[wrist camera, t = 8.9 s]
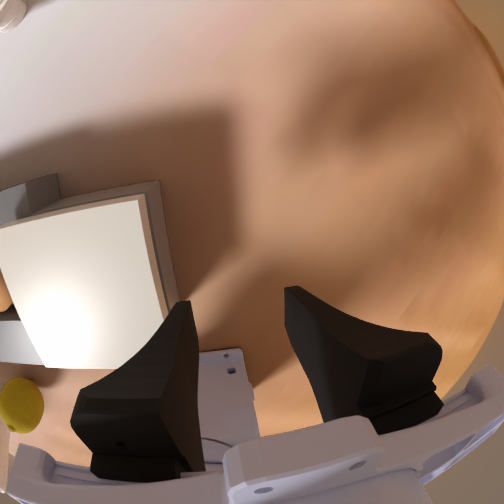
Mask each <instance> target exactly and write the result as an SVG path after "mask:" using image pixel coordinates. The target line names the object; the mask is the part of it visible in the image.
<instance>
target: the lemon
mask: <svg viewBox="0 0 504 504" xmlns="http://www.w3.org/2000/svg"><path fill="white" fill-rule="evenodd" d="M43 411H44V401H43V397H42V394H41V392H40V390H39V389H38V387H37V386H36V385H35V384H34V382H33V381H32V380H28V379H25V378H21V377H17V378H13V379H11V380H9V381H8V382H7V383H6V384H5V385H4V387H3V388H2V391H1V393H0V416H1V418H2V420H3V422H4V423H5V424H6V425H7V427H8V429H9V430H10V431H11V432H17V433H29V432H31V431H33V430H34V429H35V428H36V427H37V425H38V424H39V422H40V420H41V418H42V415H43Z"/></svg>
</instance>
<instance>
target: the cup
mask: <svg viewBox="0 0 504 504" xmlns="http://www.w3.org/2000/svg"><path fill="white" fill-rule="evenodd" d="M9 437H10V430H9V429H8V427H7V425H6V424H5V423H4V422H3V420H2V418H1V416H0V492H2V493H5V490H6V483H7V472H8V447H9Z"/></svg>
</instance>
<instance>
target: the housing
mask: <svg viewBox="0 0 504 504" xmlns="http://www.w3.org/2000/svg"><path fill="white" fill-rule="evenodd" d="M139 194H145V201H146V207H147V213H148V220H149V225H150V231H151V236H152V242H153V247H154V252H155V257H156V262H157V267H158V272H159V276H160V281H161V285H162V289H163V294H164V298H165V302H166V306H167V310H168V314H169V312H170V311H171V309H172V307H173V306H174V304H175V303H176V302H179V301H180V298H179V293H178V289H177V284H176V279H175V274H174V269H173V263H172V258H171V252H170V247H169V241H168V235H167V229H166V223H165V216H164V210H163V203H162V196H161V188H160V180H157V181H150V182H144V183H138V184H132V185H126V186H121V187H115V188H110V189H105V190H100V191H95V192H90V193H85V194H80V195H76V196H71V197H67V198H63V199H61V197H60V191H59V185H58V179H57V173H55V174H52V175H48V176H45V177H41V178H38V179H35V180H31V181H28V182H25V183H22V184H19V185H16V186H13V187H10V188H7V189H4V190H2V191H0V226H1V225H2V224H4V223H8V222H12V221H15V220H19V219H23V218H27V217H31V216H35V215H39V214H43V213H47V212H52V211H56V210H61V209H65V208H70V207H75V206H79V205H84V204H89V203H94V202H99V201H105V200H110V199H116V198H121V197H127V196H133V195H139ZM0 269H1V268H0ZM1 272H2V271H1ZM2 275H3V274H2ZM3 278H4V277H3ZM5 283H6V282H5ZM6 286H7V285H6ZM8 291H9V290H8ZM9 294H10V293H9ZM10 296H11V295H10ZM11 299H12V298H11ZM12 301H13V300H12ZM0 362H10V363H21V364H34V365H44V363H43V362H42V360H41V358H40V356H39V355H38V353H37V351H36V349H35V347H34V345H33V343H32V341H31V339H30V337H29V335H28V333H27V331H26V329H25V327H24V325H23V323H22V321H21V319H20V317H19V314H18V312H17V310H16V307H15V305H14V303H12V304H11V305H10V306H9V308H8V309H7V310H5V311H3V312H0Z"/></svg>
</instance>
